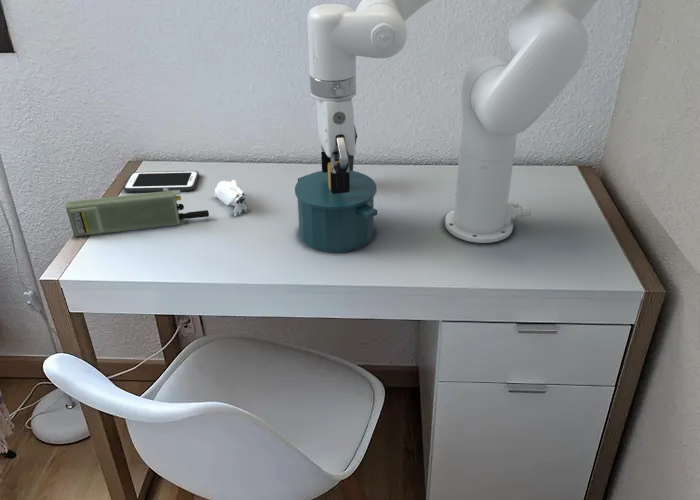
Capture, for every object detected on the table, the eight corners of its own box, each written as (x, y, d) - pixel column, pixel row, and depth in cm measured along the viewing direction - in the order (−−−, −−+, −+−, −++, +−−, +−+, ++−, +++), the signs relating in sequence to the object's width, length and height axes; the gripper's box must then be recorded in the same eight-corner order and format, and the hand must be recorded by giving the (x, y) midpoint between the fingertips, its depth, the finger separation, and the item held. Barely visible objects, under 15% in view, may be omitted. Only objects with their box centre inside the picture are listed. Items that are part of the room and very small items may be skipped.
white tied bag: (257, 212, 132) (231, 185, 137) (253, 189, 127) (226, 161, 132) (236, 224, 130) (211, 195, 135) (231, 200, 125) (205, 171, 130)
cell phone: (132, 176, 143) (131, 172, 143) (199, 174, 144) (199, 170, 143) (123, 192, 137) (122, 188, 136) (193, 191, 137) (193, 186, 137)
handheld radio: (75, 229, 125) (209, 214, 129) (73, 239, 122) (209, 223, 126) (66, 199, 121) (204, 184, 125) (64, 208, 118) (205, 193, 122)
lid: (339, 168, 127) (338, 140, 124) (393, 193, 118) (394, 164, 115) (278, 192, 118) (276, 163, 115) (332, 221, 109) (331, 191, 106)
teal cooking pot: (330, 203, 132) (329, 162, 127) (398, 239, 120) (400, 195, 116) (276, 227, 125) (273, 184, 120) (343, 267, 113) (343, 222, 108)
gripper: (368, 101, 101) (367, 202, 110) (344, 67, 115) (345, 159, 125) (320, 105, 99) (323, 207, 109) (302, 70, 114) (306, 163, 123)
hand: (335, 181), depth 117 cm, fingers open, 7 cm apart
